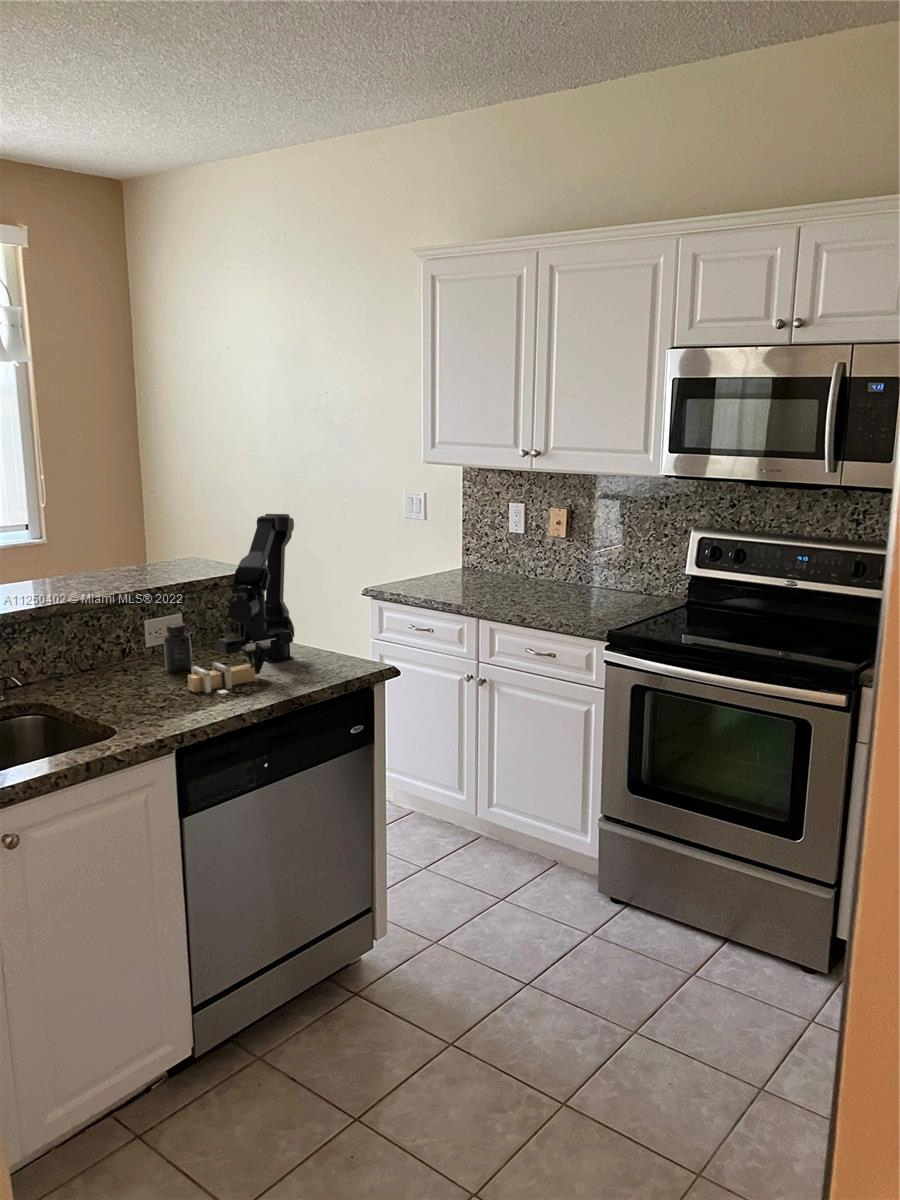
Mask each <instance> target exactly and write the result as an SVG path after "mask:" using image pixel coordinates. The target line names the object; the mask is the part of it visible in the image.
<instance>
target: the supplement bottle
mask: <svg viewBox="0 0 900 1200" xmlns="http://www.w3.org/2000/svg"><path fill="white" fill-rule="evenodd" d="M186 632H187V624H186V623H182V622H176V623H173V622H172V623H170V624H166V633H167V635H165V636H164V638H163V647H164V648H163V649H164V662H165V665H164V666H165V671H167V672H168V673H185V672H188V671H191V667H192V666H194V665H193V653H192V652H193V651H192V640H191V636H190V635H189V633H186Z"/></svg>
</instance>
